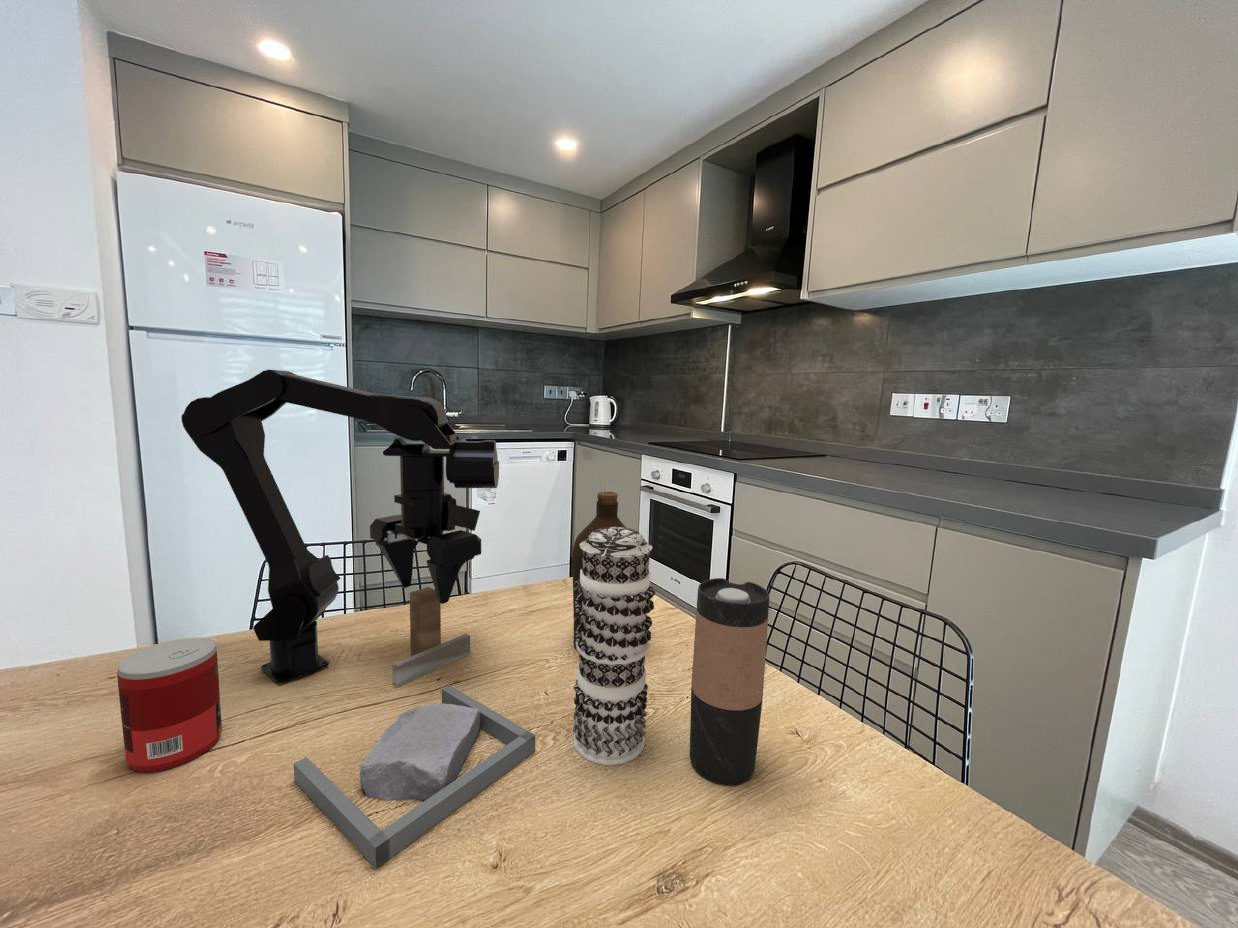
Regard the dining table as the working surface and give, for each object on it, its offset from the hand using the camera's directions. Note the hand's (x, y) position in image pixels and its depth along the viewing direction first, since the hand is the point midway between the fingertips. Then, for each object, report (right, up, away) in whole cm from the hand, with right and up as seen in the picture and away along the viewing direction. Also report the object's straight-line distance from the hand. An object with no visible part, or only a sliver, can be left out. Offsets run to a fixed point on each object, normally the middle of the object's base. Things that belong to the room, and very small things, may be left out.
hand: (424, 594), depth 73 cm
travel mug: (+39, -15, -16) cm, 45 cm away
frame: (+6, -13, -18) cm, 23 cm away
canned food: (-21, -13, -17) cm, 30 cm away
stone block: (+6, -14, -18) cm, 23 cm away
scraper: (-1, -11, +2) cm, 11 cm away
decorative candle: (+27, -14, -13) cm, 33 cm away
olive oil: (+25, -11, +10) cm, 29 cm away
